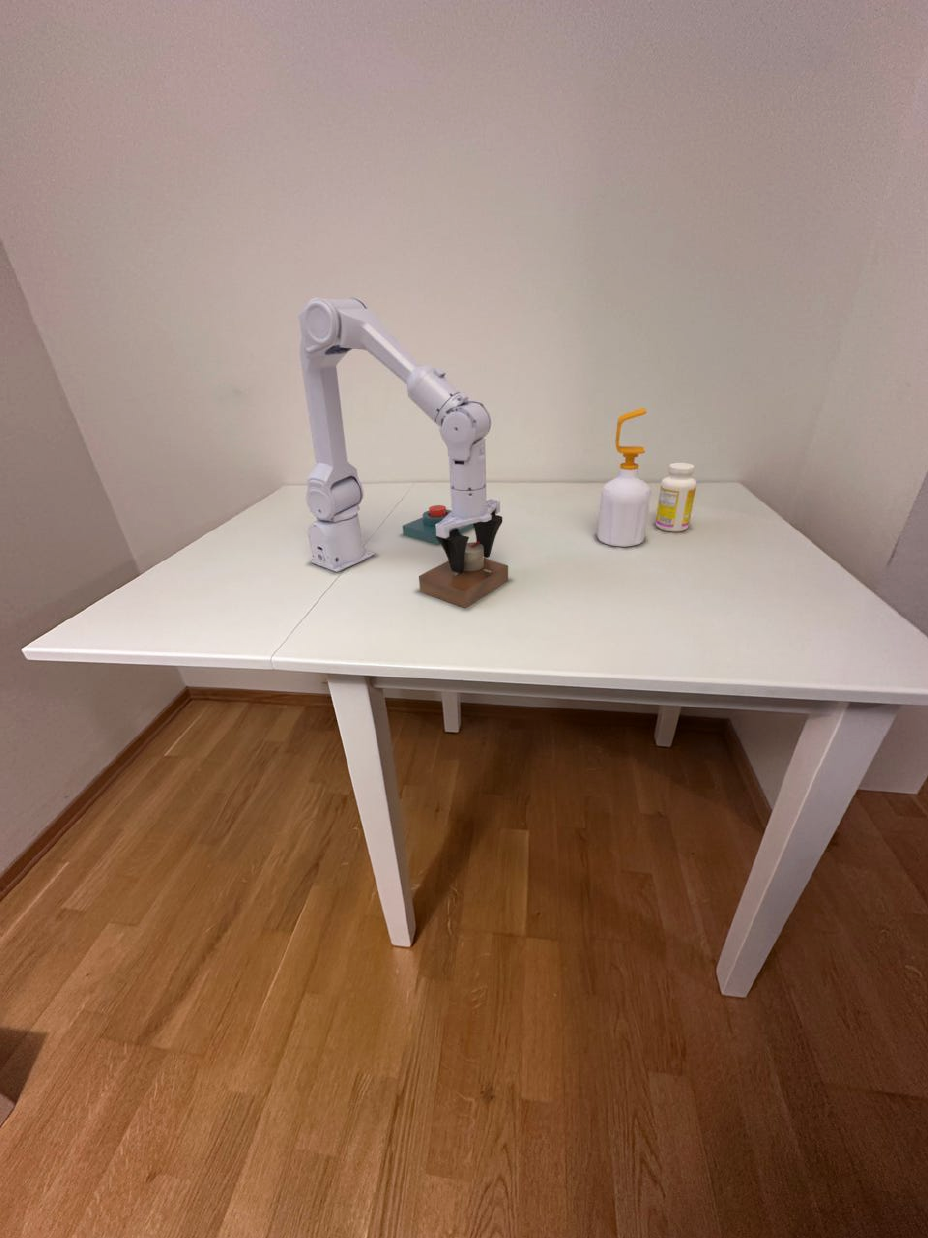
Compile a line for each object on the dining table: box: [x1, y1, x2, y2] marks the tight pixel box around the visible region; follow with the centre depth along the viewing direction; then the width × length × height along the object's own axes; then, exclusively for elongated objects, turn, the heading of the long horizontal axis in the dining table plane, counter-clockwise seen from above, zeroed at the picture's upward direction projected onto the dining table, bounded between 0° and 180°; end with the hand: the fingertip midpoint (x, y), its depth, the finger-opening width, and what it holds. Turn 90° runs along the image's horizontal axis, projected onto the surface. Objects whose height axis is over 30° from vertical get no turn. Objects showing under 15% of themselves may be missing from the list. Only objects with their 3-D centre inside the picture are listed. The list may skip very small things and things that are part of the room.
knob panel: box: [418, 557, 509, 609], centre depth 88 cm, size 12×10×3 cm
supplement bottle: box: [655, 462, 698, 532], centre depth 104 cm, size 7×7×13 cm
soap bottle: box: [596, 407, 652, 548], centre depth 97 cm, size 9×9×25 cm
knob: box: [464, 541, 484, 571], centre depth 87 cm, size 4×4×4 cm
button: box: [428, 504, 447, 517], centre depth 109 cm, size 4×4×2 cm
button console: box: [402, 508, 474, 546], centre depth 110 cm, size 12×10×4 cm
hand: (471, 563), depth 88 cm, fingers open, 7 cm apart
